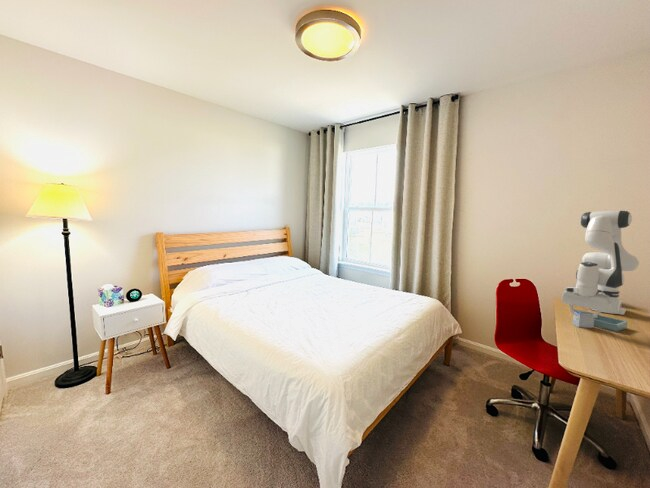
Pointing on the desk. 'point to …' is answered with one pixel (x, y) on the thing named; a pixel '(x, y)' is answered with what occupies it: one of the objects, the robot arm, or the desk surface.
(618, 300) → the robot arm
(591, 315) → the medicine box
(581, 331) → the desk surface
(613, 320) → the tray
